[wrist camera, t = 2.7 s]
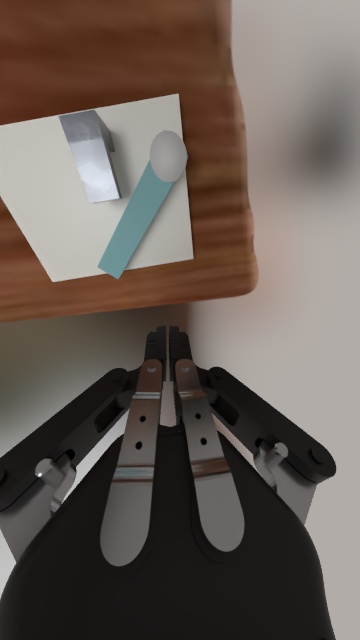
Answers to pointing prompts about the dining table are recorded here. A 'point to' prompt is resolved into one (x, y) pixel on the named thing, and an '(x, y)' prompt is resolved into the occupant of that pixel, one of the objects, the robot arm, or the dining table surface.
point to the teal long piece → (145, 200)
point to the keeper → (92, 154)
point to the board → (71, 198)
